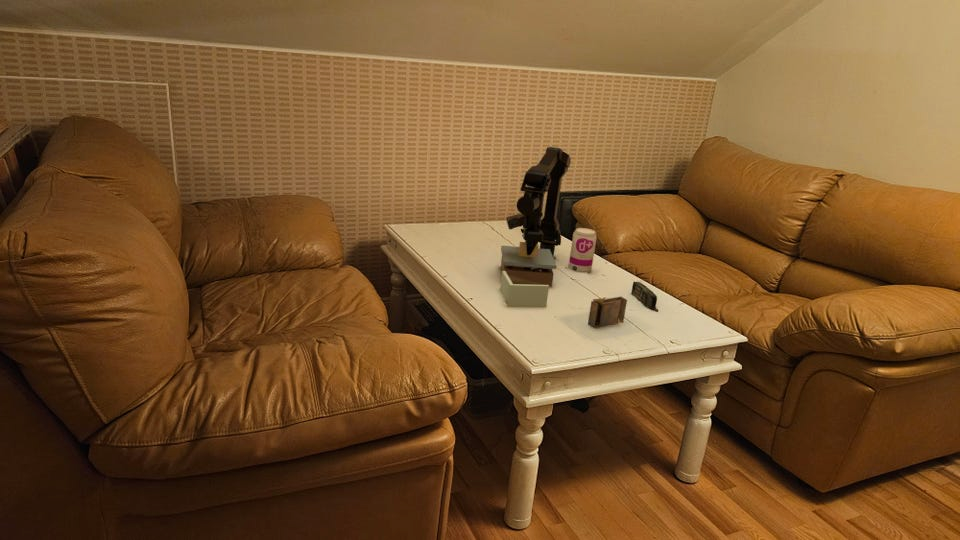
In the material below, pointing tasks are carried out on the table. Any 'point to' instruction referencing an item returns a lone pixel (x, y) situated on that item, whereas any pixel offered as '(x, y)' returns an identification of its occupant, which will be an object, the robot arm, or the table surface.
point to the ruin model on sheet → (607, 311)
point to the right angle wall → (523, 293)
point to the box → (529, 275)
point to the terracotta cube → (516, 267)
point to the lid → (527, 257)
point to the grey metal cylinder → (536, 269)
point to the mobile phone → (644, 295)
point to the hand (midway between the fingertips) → (528, 253)
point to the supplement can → (582, 250)
